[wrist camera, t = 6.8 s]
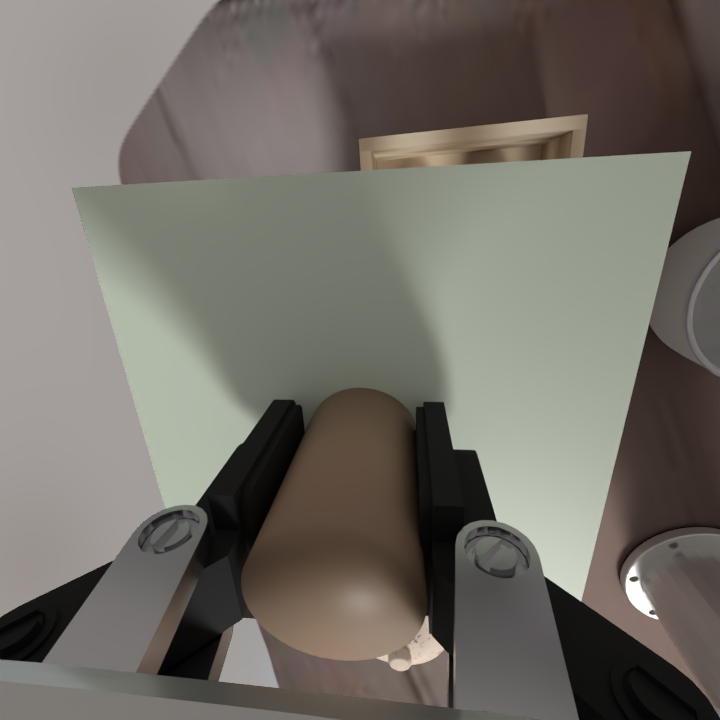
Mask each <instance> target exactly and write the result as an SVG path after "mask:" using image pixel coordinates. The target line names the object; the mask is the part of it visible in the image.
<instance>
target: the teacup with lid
mask: <svg viewBox="0 0 720 720" xmlns="http://www.w3.org/2000/svg"><path fill="white" fill-rule="evenodd" d="M443 650H444V648H443V647H442V646H441V645H440V644H439V643H438V642H437V641H436V640H435V639H434V638H433V637H432V634H429V623H428V616H426V617H425V620H424V623H423V625H422V627H421V629H420V631H419V632H418V633H417V635H416V636H415V637H414V638H413V639H412V640H411V641H410V642H409V643H408V644H406V645H405V646H403V647H402V648H400V649H398V650H396V651H394V652H392V653H390V654H387V655H384V656H381V657H377V658H378V659H380V660H383V661H385V662H389V664H390V666H391V667H392V668H393V669H395V670H397V671H405V670H407V669H409V667H410V666H411V665H414V664H420V663H424V662H427V661H430V660H432V659H434V658H435V657H437V656H438V655H439V654H440V653H441V652H442V651H443Z"/></svg>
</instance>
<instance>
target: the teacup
mask: <svg viewBox="0 0 720 720" xmlns="http://www.w3.org/2000/svg"><path fill="white" fill-rule="evenodd" d="M649 324H650V326H651V328H652V329H653V331H654V332H655V334H656V335H657V336H658V337H659V338H660V340H662V341H663V342H664V343H665V344H666V345H667V346H669V347H670V348H671V349H673V350H674V351H676V352H678V353H679V354H681V355H682V356H684V357H686V358H688V359H689V360H691V361H693V362H695V363H697V364H699V365H701V366H703V367H705V368H706V369H707V370H708V371H710V372H711V373H713V374H714V375H716V376H718V377H720V218H718V219H715V220H712V221H709V222H707V223H705V224H703V225H701V226H698V227H697V228H695V229H693V230H692V231H690V232H688V233H687V234H685V235H684V236H683V237H681V238H680V239H679V240H677V241H676V242H675V243H674V244H673V245H672V246H671V247H670V248H668V250H667V252H666V257H665V261H664V265H663V269H662V273H661V277H660V281H659V285H658V289H657V293H656V297H655V301H654V306H653V310H652V314H651V318H650V322H649Z"/></svg>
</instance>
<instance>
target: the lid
mask: <svg viewBox="0 0 720 720" xmlns="http://www.w3.org/2000/svg"><path fill="white" fill-rule="evenodd" d="M690 154H691V151H686V152H669V153H652V154H635V155H618V156H601V157H584V158H568V159H551V160H534V161H517V162H500V163H483V164H466V165H449V166H432V167H416V168H399V169H382V170H365V171H348V172H331V173H314V174H297V175H281V176H264V177H247V178H230V179H213V180H196V181H179V182H162V183H146V184H129V185H114V186H113V185H112V186H95V187H80V188H79V187H78V188H72V191H73V194H74V198H75V201H76V204H77V208H78V211H79V215H80V218H81V222H82V225H83V228H84V232H85V235H86V239H87V242H88V245H89V249H90V252H91V256H92V259H93V263H94V266H95V270H96V273H97V276H98V280H99V283H100V287H101V290H102V294H103V297H104V300H105V304H106V307H107V311H108V314H109V318H110V321H111V324H112V328H113V331H114V335H115V338H116V342H117V345H118V348H119V352H120V355H121V358H122V362H123V366H124V369H125V372H126V376H127V379H128V383H129V386H130V389H131V393H132V396H133V400H134V403H135V407H136V410H137V414H138V417H139V420H140V424H141V427H142V431H143V434H144V437H145V441H146V444H147V448H148V451H149V455H150V458H151V462H152V465H153V468H154V472H155V475H156V478H157V482H158V485H159V489H160V492H161V495H162V499H163V502H164V506H165V509H167V508H170V507H173V506H179V505H196V504H197V502H198V501H199V500H200V498H201V497H202V495H203V494H204V493H205V491H206V490H207V488H208V487H209V486H210V484H211V483H212V481H213V480H214V479H215V477H216V476H217V475H218V473H219V472H220V470H221V469H222V468H223V466H224V465H225V463H226V462H227V461H228V459H229V458H230V456H231V455H232V454H233V452H234V451H235V449H236V448H237V447H238V446H239V445H240V444H242V443H244V441H245V440H246V438H247V437H248V435H249V434H250V433H251V431H252V430H253V428H254V427H255V425H256V424H257V423H258V421H259V420H260V418H261V417H262V416H263V414H264V413H265V411H266V410H267V408H268V407H269V406H270V404H271V403H272V401H273V400H274V399H279V400H294V401H295V403H296V405H301V406H302V411H303V420H304V429H305V434H304V436H303V438H302V440H301V442H300V444H299V447H298V449H297V451H296V453H295V455H294V458H293V460H292V462H291V464H290V466H289V469H288V471H287V473H286V475H285V477H284V479H283V482H282V484H281V486H280V488H279V490H278V493H277V495H276V497H275V499H274V501H273V504H272V506H271V508H270V510H269V512H268V514H267V517H266V519H265V521H264V523H263V525H262V528H261V530H260V532H259V534H258V536H257V539H256V541H255V543H254V545H253V547H252V549H251V552H250V554H249V556H248V558H247V560H246V563H245V565H244V567H243V571H242V575H241V588H242V594H243V597H244V600H245V603H246V605H247V607H248V609H249V610H250V612H251V613H252V615H253V616H254V618H255V619H256V620H257V621H258V622H259V624H260V625H261V626H262V627H263V628H265V629H266V630H267V631H268V632H269V633H270V634H272V635H273V636H274V637H276V638H277V639H279V640H280V641H282V642H284V643H285V644H287V645H289V646H291V647H293V648H295V649H298V650H300V651H302V652H305V653H308V654H311V655H314V656H318V657H323V658H327V659H334V660H347V661H352V660H366V659H373V658H377V657H381V656H384V655H387V654H390V653H392V652H394V651H396V650H398V649H400V648H402V647H403V646H405V645H406V644H408V643H409V642H410V641H411V640H412V639H413V638H414V637H415V636H416V635H417V633H418V632H419V631H420V629H421V627H422V625H423V623H424V620H425V617H426V612H427V596H426V577H425V560H424V554H423V550H422V547H421V545H420V525H419V501H418V478H417V454H416V407H423V403H424V402H444V405H445V410H446V415H447V420H448V425H449V430H450V435H451V440H452V445H453V449H459V450H475V451H476V452H477V455H478V458H479V462H480V465H481V469H482V472H483V476H484V479H485V482H486V486H487V489H488V493H489V496H490V499H491V503H492V506H493V510H494V513H495V516H496V520H497V522H501V523H505V524H507V525H509V526H511V527H514V528H516V529H517V530H519V531H520V532H521V533H523V534H524V535H525V536H527V537H528V539H529V540H530V541H531V542H532V543H533V545H534V546H535V548H536V550H537V552H538V555H539V557H540V561H541V565H542V569H543V574H544V576H545V577H546V578H548V579H549V580H551V581H552V582H554V583H555V584H557V585H558V586H559V587H561V588H562V589H564V590H565V591H567V592H568V593H569V594H571V595H572V596H574V597H575V598H577V599H578V600H580V601H581V600H582V596H583V592H584V587H585V583H586V579H587V575H588V571H589V567H590V563H591V559H592V555H593V551H594V547H595V543H596V538H597V534H598V530H599V526H600V522H601V518H602V514H603V510H604V506H605V502H606V498H607V493H608V489H609V485H610V481H611V477H612V473H613V469H614V465H615V461H616V457H617V453H618V449H619V444H620V440H621V436H622V432H623V428H624V424H625V420H626V416H627V412H628V408H629V404H630V400H631V395H632V391H633V387H634V383H635V379H636V375H637V371H638V367H639V363H640V359H641V355H642V351H643V346H644V342H645V338H646V334H647V330H648V326H649V322H650V318H651V314H652V310H653V306H654V301H655V297H656V293H657V289H658V285H659V281H660V277H661V273H662V269H663V265H664V261H665V257H666V252H667V248H668V244H669V240H670V236H671V232H672V228H673V224H674V220H675V216H676V212H677V208H678V203H679V199H680V195H681V191H682V187H683V183H684V179H685V175H686V171H687V167H688V163H689V159H690Z"/></svg>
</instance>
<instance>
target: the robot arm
mask: <svg viewBox="0 0 720 720" xmlns="http://www.w3.org/2000/svg"><path fill="white" fill-rule="evenodd" d="M304 434H305V429H304V420H303V411H302V406H301V405H296V403H295V401H294V400H279V399H274V400H273V401H272V403H271V404H270V406H269V407H268V408H267V410H266V411H265V413H264V414H263V416H262V417H261V418H260V420H259V421H258V423H257V424H256V425H255V427H254V428H253V430H252V431H251V433H250V434H249V435H248V437H247V438H246V440H245V441H244V443H242V444H240V445H239V446H238V447H237V448H236V449H235V451H234V452H233V454H232V455H231V456H230V458H229V459H228V461H227V462H226V463H225V465H224V466H223V468H222V469H221V470H220V472H219V473H218V475H217V476H216V477H215V479H214V480H213V481H212V483H211V484H210V486H209V487H208V488H207V490H206V491H205V493H204V494H203V495H202V497H201V498H200V500H199V501H198V502H197V504H196V505H179V506H173V507H170V508H167V509H164V510H162V511H160V512H158V513H156V514H154V515H152V516H151V517H149V518H148V519H147V520H145V521H144V522H143V523H142V524H141V525H140V526H139V527H138V528H137V529H136V530H135V532H134V533H133V534H132V536H131V537H130V538H129V540H128V541H127V543H126V544H125V545H124V547H123V548H122V550H121V551H120V553H119V554H118V555H117V557H116V558H115V560H114V561H111V562H109V563H107V564H105V565H103V566H101V567H99V568H97V569H95V570H93V571H91V572H89V573H87V574H85V575H83V576H81V577H79V578H76V579H74V580H72V581H70V582H68V583H66V584H64V585H62V586H60V587H58V588H56V589H54V590H52V591H50V592H48V593H46V594H44V595H41V596H39V597H37V598H36V599H33V600H31V601H29V602H27V603H25V604H23V605H21V606H19V607H17V608H15V609H14V610H12V611H10V612H8V613H7V614H5V615H3V616H2V617H1V618H0V720H720V529H715V528H709V527H690V528H680V529H676V530H672V531H667V532H665V533H662V534H659V535H657V536H654V537H653V538H651V539H649V540H647V541H645V542H644V543H642V544H641V545H640V546H638V547H637V548H636V549H635V550H634V551H633V552H632V553H631V554H630V555H629V556H628V558H627V559H626V561H625V562H624V564H623V567H622V570H621V573H620V582H621V586H622V589H623V591H624V593H625V594H626V596H627V598H628V600H629V601H630V602H631V604H632V605H633V606H634V607H635V608H637V609H638V610H639V611H640V612H642V613H644V614H646V615H647V616H650V617H653V618H656V619H659V621H660V622H661V624H662V625H663V627H664V629H665V630H666V632H667V634H668V635H669V637H670V638H671V640H672V642H673V643H674V645H675V646H676V648H677V650H678V651H679V653H680V654H681V656H682V658H683V659H684V661H685V662H686V664H687V666H688V667H689V669H690V671H691V672H692V674H693V675H694V677H695V679H696V680H697V682H698V683H699V685H700V687H701V688H702V690H703V691H704V693H705V695H706V696H707V697H706V696H705V695H704V694H703V693H702V692H701V690H700V689H699V688H698V687H697V686H696V685H695V684H694V683H693V681H691V680H690V679H689V678H688V677H687V676H685V675H684V674H683V673H682V672H680V671H679V670H678V669H677V668H676V667H674V666H673V665H672V664H670V663H669V662H667V661H666V660H664V659H663V658H662V657H660V656H659V655H657V654H656V653H654V652H653V651H651V650H650V649H649V648H647V647H646V646H644V645H643V644H641V643H640V642H639V641H637V640H636V639H634V638H633V637H631V636H630V635H628V634H627V633H626V632H624V631H623V630H621V629H620V628H618V627H617V626H615V625H614V624H613V623H611V622H610V621H608V620H607V619H605V618H604V617H603V616H601V615H600V614H598V613H597V612H595V611H594V610H592V609H591V608H590V607H588V606H587V605H585V604H584V603H582V602H581V601H580V600H578V599H577V598H575V597H574V596H572V595H571V594H569V593H568V592H567V591H565V590H564V589H562V588H561V587H559V586H558V585H557V584H555V583H554V582H552V581H551V580H549V579H548V578H546V577H545V576H544V574H543V569H542V565H541V561H540V557H539V555H538V552H537V550H536V548H535V546H534V545H533V543H532V542H531V541H530V540H529V539H528V537H527V536H525V535H524V534H523V533H521V532H520V531H519V530H517V529H516V528H514V527H511V526H509V525H507V524H505V523H501V522H497V520H496V516H495V513H494V510H493V506H492V503H491V499H490V496H489V493H488V489H487V486H486V482H485V479H484V476H483V472H482V469H481V465H480V462H479V458H478V455H477V452H476V451H475V450H459V449H453V445H452V440H451V435H450V430H449V425H448V420H447V415H446V410H445V405H444V402H424V403H423V407H416V454H417V478H418V501H419V525H420V545H421V547H422V550H423V554H424V560H425V577H426V596H427V612H426V616H428V623H429V634H432V637H433V638H434V639H435V640H436V641H437V642H438V643H439V644H440V645H441V646H442V647H443V648H444V649H445V650H446V651H447V652H448V686H447V708H446V707H437V706H429V705H420V704H412V703H403V702H394V701H386V700H377V699H369V698H360V697H352V696H343V695H334V694H325V693H316V692H307V691H298V690H289V689H280V688H271V687H262V686H254V685H244V684H235V683H226V682H218V681H219V678H220V674H221V671H222V668H223V664H224V661H225V658H226V654H227V651H228V648H229V644H230V641H231V638H232V633H233V625H234V624H236V623H237V622H239V621H240V620H241V619H242V618H254V616H253V615H252V613H251V612H250V610H249V609H248V607H247V605H246V603H245V600H244V597H243V594H242V588H241V575H242V571H243V567H244V565H245V563H246V560H247V558H248V556H249V554H250V552H251V549H252V547H253V545H254V543H255V541H256V539H257V536H258V534H259V532H260V530H261V528H262V525H263V523H264V521H265V519H266V517H267V514H268V512H269V510H270V508H271V506H272V504H273V501H274V499H275V497H276V495H277V493H278V490H279V488H280V486H281V484H282V482H283V479H284V477H285V475H286V473H287V471H288V469H289V466H290V464H291V462H292V460H293V458H294V455H295V453H296V451H297V449H298V447H299V444H300V442H301V440H302V438H303V436H304ZM254 619H255V618H254Z"/></svg>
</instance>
